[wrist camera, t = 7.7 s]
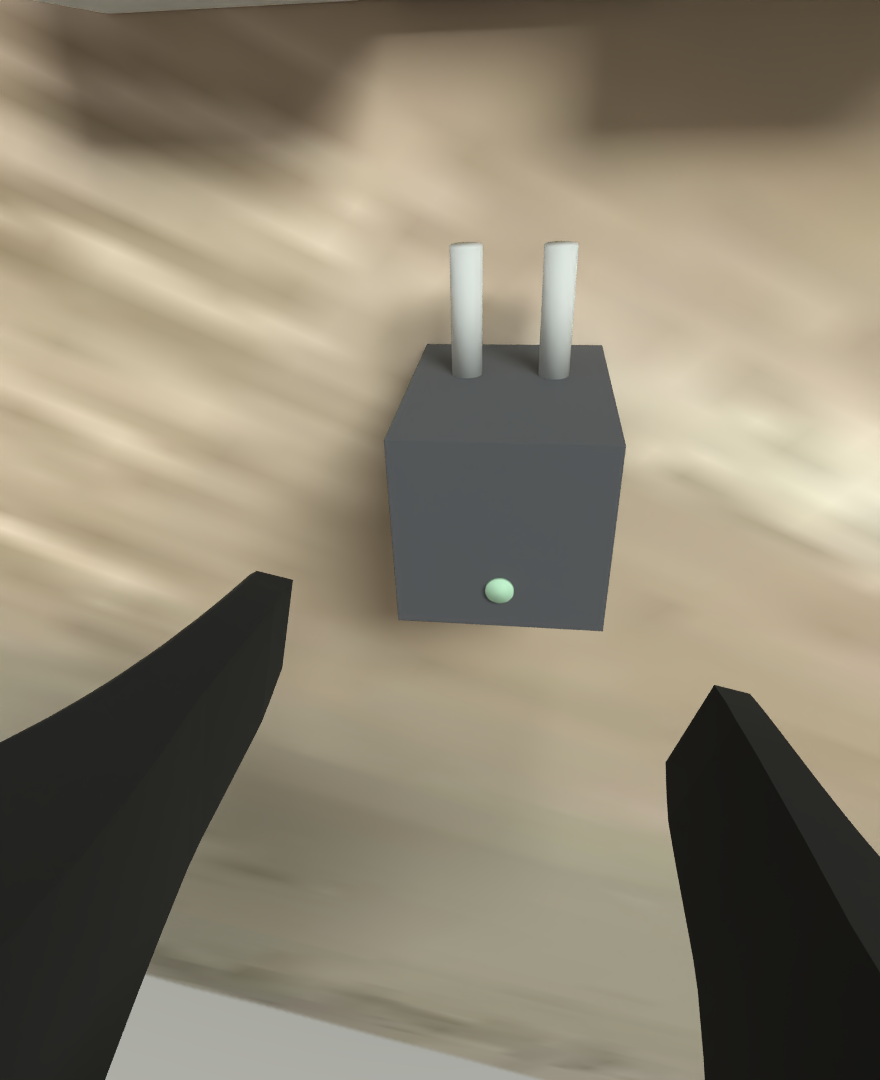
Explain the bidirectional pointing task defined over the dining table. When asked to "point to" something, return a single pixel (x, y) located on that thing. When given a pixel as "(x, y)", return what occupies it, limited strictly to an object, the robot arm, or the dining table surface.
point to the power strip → (167, 4)
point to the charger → (506, 467)
